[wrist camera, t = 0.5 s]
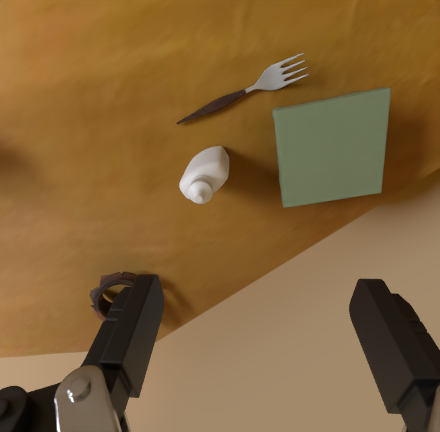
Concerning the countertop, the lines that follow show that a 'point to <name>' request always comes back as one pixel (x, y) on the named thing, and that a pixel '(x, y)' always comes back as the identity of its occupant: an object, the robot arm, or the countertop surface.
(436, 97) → the countertop surface
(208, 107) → the fork
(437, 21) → the countertop surface
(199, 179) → the eye dropper bottle
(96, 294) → the pottery mug
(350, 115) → the stool
